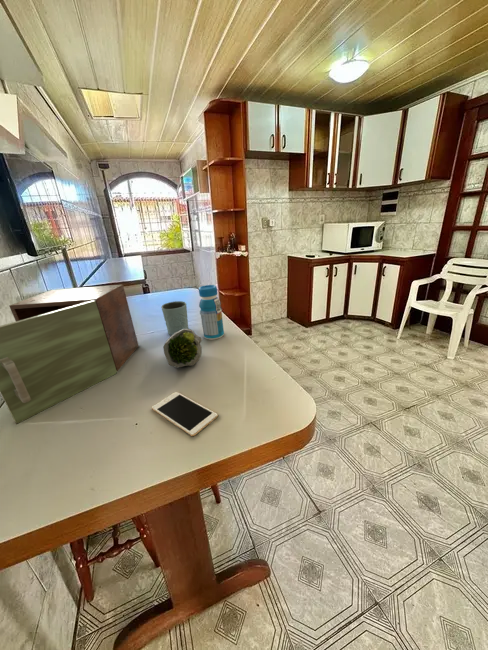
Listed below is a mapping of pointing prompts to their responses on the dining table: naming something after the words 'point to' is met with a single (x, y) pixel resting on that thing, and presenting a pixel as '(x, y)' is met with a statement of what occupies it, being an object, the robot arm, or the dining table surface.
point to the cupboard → (109, 307)
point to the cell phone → (185, 413)
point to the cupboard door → (52, 358)
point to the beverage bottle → (210, 312)
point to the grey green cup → (175, 316)
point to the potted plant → (183, 348)
